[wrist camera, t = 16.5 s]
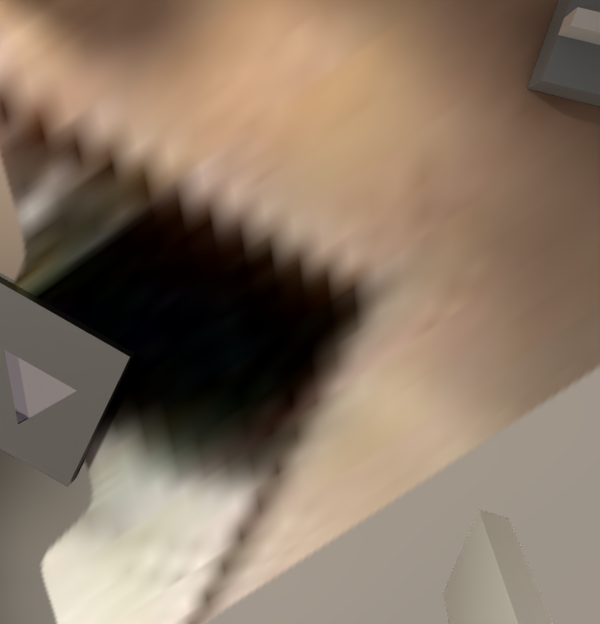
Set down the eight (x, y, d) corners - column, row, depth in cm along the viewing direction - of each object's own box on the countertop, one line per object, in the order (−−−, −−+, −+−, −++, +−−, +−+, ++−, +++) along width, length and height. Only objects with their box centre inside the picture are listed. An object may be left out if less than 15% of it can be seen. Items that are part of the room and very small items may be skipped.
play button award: (-67, 244, 43) (129, 356, 43) (-53, 242, 44) (137, 351, 45) (-111, 386, 48) (67, 486, 48) (-97, 380, 49) (76, 477, 50)
